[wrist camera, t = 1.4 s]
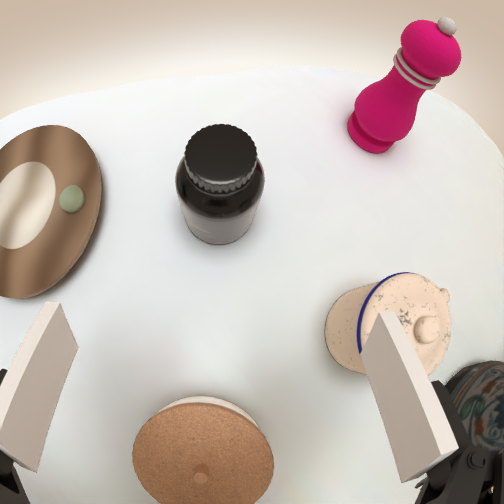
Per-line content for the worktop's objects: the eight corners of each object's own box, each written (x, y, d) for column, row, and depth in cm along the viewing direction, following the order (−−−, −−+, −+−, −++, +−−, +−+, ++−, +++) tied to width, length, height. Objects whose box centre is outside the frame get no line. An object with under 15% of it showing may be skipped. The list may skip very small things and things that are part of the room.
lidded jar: (261, 383, 28) (278, 410, 18) (261, 477, 25) (276, 527, 16) (149, 381, 26) (118, 405, 17) (157, 475, 24) (136, 522, 15)
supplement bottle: (182, 244, 30) (159, 197, 18) (189, 181, 31) (174, 109, 20) (253, 248, 30) (272, 203, 19) (254, 184, 32) (272, 114, 20)
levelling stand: (-30, 291, 26) (-51, 287, 22) (1, 148, 30) (-14, 133, 26) (97, 308, 27) (79, 306, 23) (122, 132, 32) (112, 111, 28)
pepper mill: (332, 118, 35) (399, -9, 15) (371, 105, 36) (441, -2, 17) (366, 165, 34) (463, 49, 14) (403, 147, 35) (494, 49, 16)
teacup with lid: (341, 388, 28) (401, 418, 17) (307, 308, 29) (356, 299, 18) (427, 333, 30) (501, 331, 19) (399, 261, 32) (468, 232, 20)
